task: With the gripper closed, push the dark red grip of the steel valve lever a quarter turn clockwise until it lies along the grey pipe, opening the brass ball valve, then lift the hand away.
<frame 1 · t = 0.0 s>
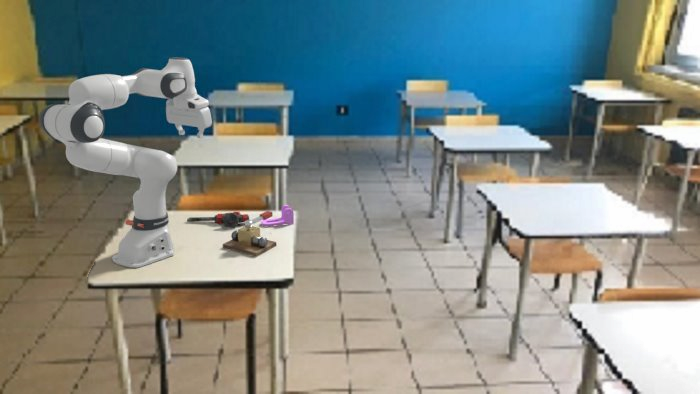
hand: (191, 136, 231), 39 cm above the table, tool pointing down, fingers open, 8 cm apart
bracket: (276, 224, 252), on the table
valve: (220, 222, 255), on the table
ball valve: (249, 235, 227), on the walnut board, point 5 cm above the table
valve lever: (258, 219, 231), point 9 cm above the table, hinge at 0.0°
walnut board: (249, 246, 229), on the table
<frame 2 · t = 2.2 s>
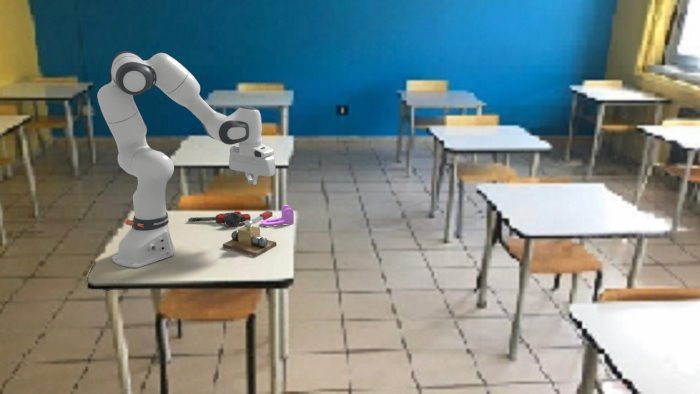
hand: (252, 183, 234), 21 cm above the table, tool pointing down, fingers closed
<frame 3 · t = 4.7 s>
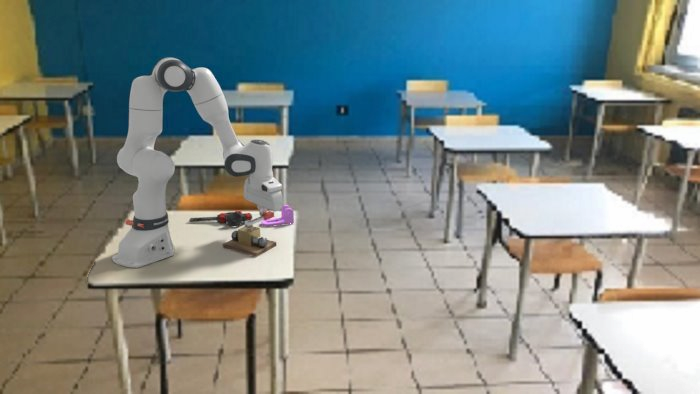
hand: (263, 215, 236), 9 cm above the table, tool pointing down, fingers closed
valve lever: (259, 219, 230), point 9 cm above the table, hinge at 4.0°, touching gripper
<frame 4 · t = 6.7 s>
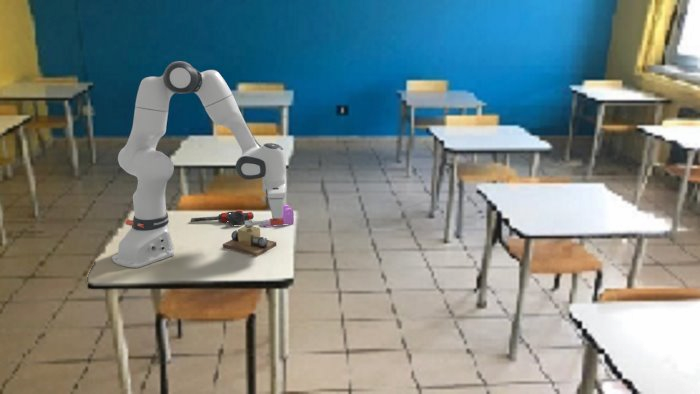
hand: (275, 221, 231), 9 cm above the table, tool pointing down, fingers closed
valve lever: (264, 222, 227), point 9 cm above the table, hinge at 45.2°, touching gripper
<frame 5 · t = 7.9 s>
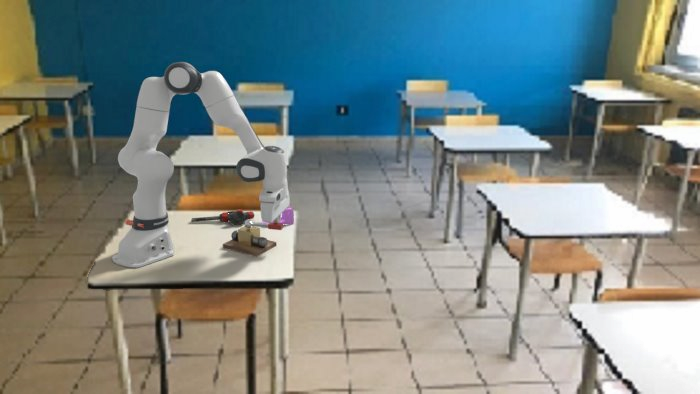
hand: (277, 225, 226), 9 cm above the table, tool pointing down, fingers closed
valve lever: (263, 225, 225), point 9 cm above the table, hinge at 71.3°, touching gripper
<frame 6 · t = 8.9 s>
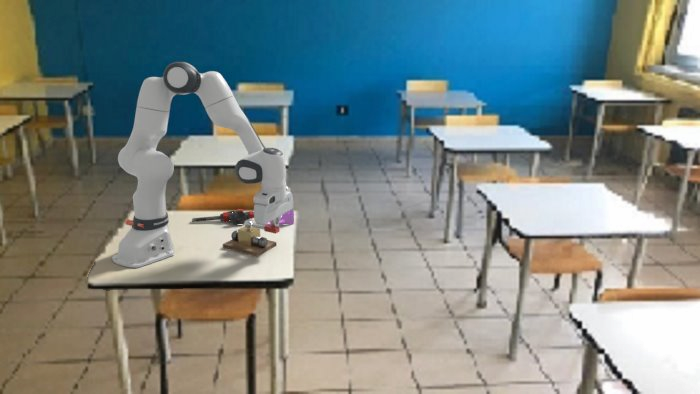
hand: (275, 228, 224), 9 cm above the table, tool pointing down, fingers closed
valve lever: (261, 226, 223), point 9 cm above the table, hinge at 87.8°, touching gripper
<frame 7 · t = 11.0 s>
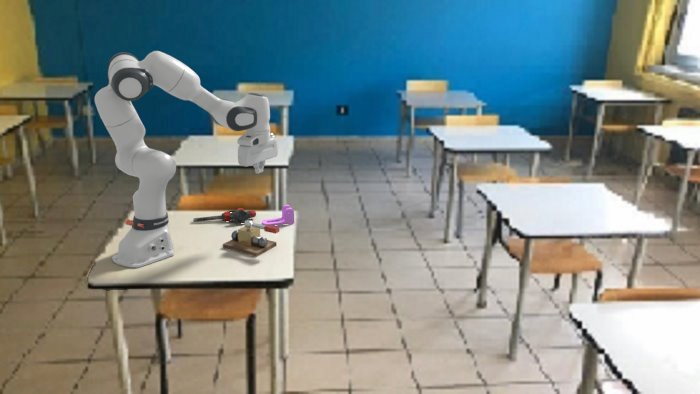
hand: (259, 172, 229), 26 cm above the table, tool pointing down, fingers closed
valve lever: (261, 226, 223), point 9 cm above the table, hinge at 87.9°
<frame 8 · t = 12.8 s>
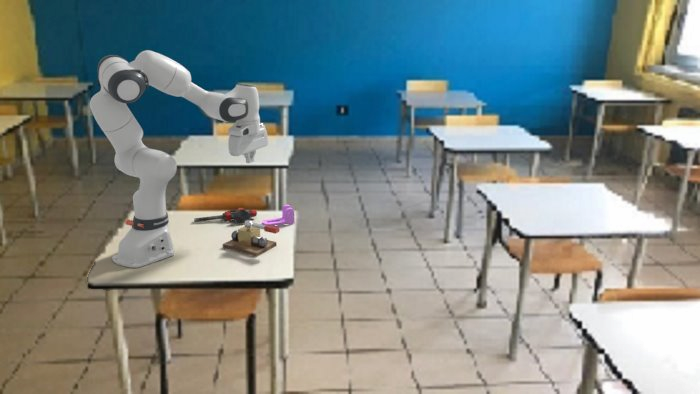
hand: (250, 162, 233), 29 cm above the table, tool pointing down, fingers closed
at the end: valve lever at +88° (first picture: +0°) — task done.
